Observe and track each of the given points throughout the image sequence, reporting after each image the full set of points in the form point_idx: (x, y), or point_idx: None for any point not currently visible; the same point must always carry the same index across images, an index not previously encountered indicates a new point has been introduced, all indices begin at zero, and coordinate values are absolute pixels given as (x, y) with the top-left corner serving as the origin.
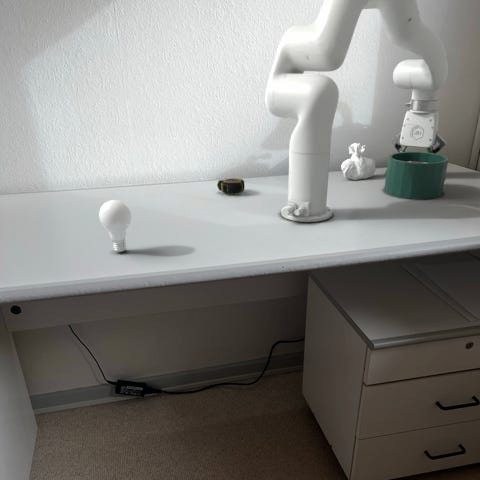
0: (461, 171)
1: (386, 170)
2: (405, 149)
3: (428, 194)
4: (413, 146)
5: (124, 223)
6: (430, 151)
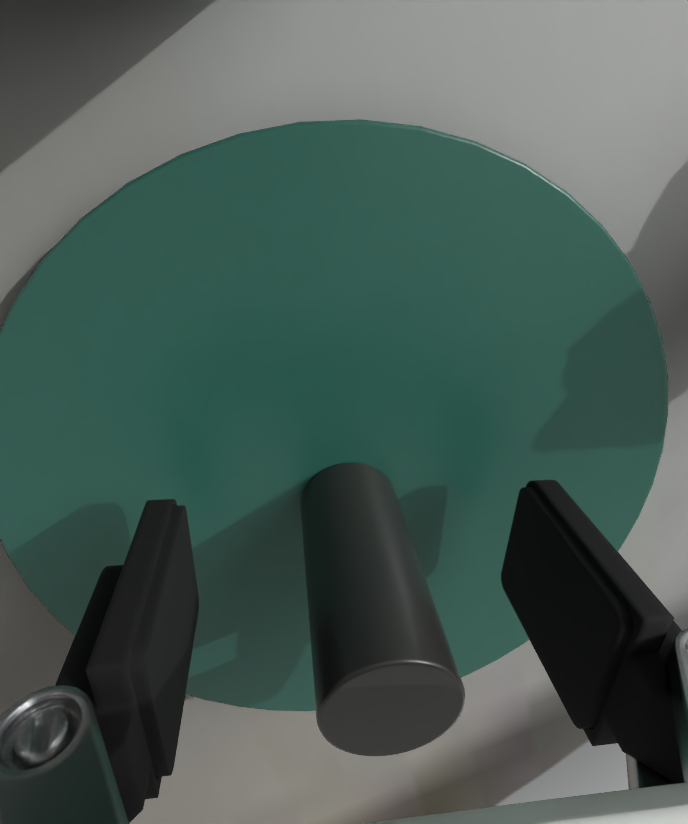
0: None
1: (662, 442)
2: (633, 788)
3: None
4: (537, 817)
5: None
6: (36, 804)
